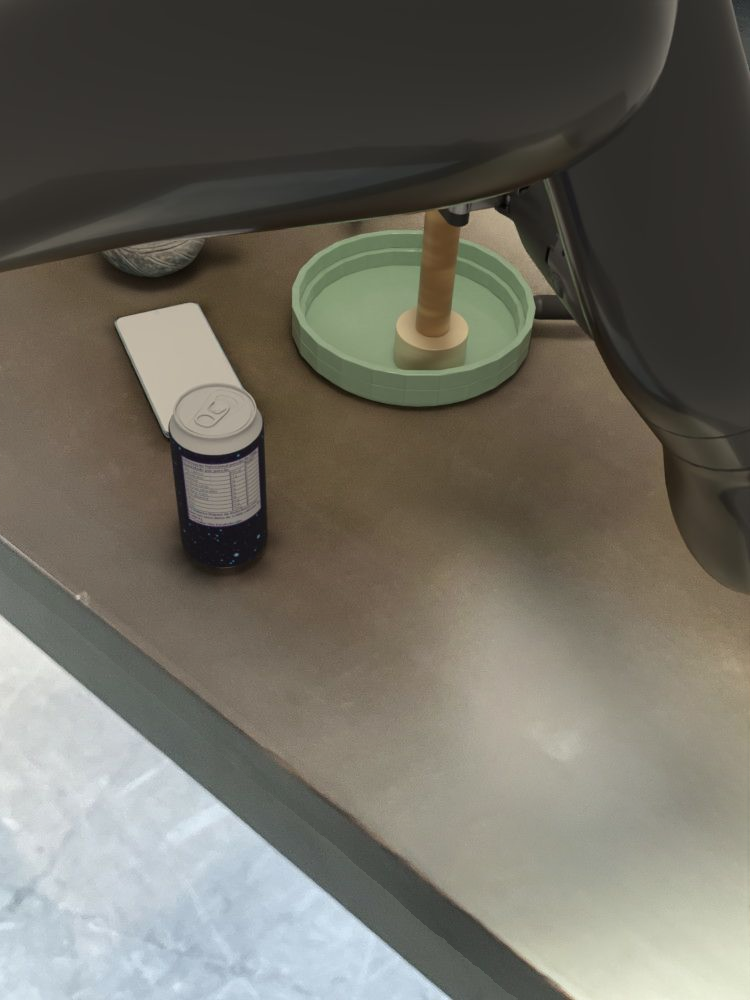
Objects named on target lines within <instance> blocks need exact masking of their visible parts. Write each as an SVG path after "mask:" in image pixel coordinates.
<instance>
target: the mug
mask: <svg viewBox="0 0 750 1000" xmlns="http://www.w3.org/2000/svg"><path fill="white" fill-rule="evenodd" d="M206 239H207V238H202V239H193V240H183V241H174V242H165V243H157V244H149V245H141V246H132V247H126V248H121V249H115V250H110V251H105V252H100V254H101V255H102V256H103V258H104V259H105V260H106V261H108V263H110V264H111V265H112V266H113V267H114V268H116V269H117V270H119V271H121V272H123V273H125V274H130V275H132V276H137V277H144V278H145V277H147V278H161V277H164V276H165V277H166V276H168V275H171V274H173V273H176V272H178V271H180V270H183V269H185V267H188V266H189V265H190V264H192V263H193V261H194V260H195V259H196V257H197V256H198V255H199V253H200V252H201V250H202V248H203V247H204V244H205V242H206Z"/></svg>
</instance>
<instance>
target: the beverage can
mask: <svg viewBox="0 0 750 1000" xmlns="http://www.w3.org/2000/svg"><path fill="white" fill-rule="evenodd" d="M244 389H245V388H244ZM244 389H242V388H240V387H238V386H235V385H231V384H227V383H207V384H202V385H198V386H196V387H193V388H191V389H189V390H187V391H186V392H184V393H183V394H182V395H181V396H180V397H179V398H178V400H177V401H176V403H175V405H174V409H173V414H172V416H171V418H170V421H169V425H168V431H169V438H168V439H169V448H170V456H171V457H170V458H171V464H172V473H173V481H174V490H175V498H176V508H177V516H178V517H177V518H178V524H179V534H180V541H181V542H180V543H181V547H182V548H183V550H184V551H185V553H186V555H188V556H189V557H190V558H191V559H192V560H193V561H195V562H197V563H198V564H201V565H203V566H207V567H211V568H216V569H230V568H234V567H238V566H241V565H244V564H246V563H248V562H250V561H252V560H254V559H255V558H256V557H257V556H258V555H260V553H261V552H262V551H263V550H264V548H265V546H266V544H267V542H268V537H269V533H268V532H269V531H268V506H267V505H268V503H267V502H268V501H267V476H266V475H267V473H266V448H265V447H266V445H265V420H264V418H263V416H262V413H261V411H260V410H259V409H258V407H257V403H256V401H255V399H254V397H253V396H252V395H251V393H249V392H248V391H247V390H246V389H245V390H244Z"/></svg>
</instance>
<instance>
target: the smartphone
mask: <svg viewBox="0 0 750 1000" xmlns="http://www.w3.org/2000/svg"><path fill="white" fill-rule="evenodd" d="M113 321H114V327H115V329H116V331H117V333H118V335H119V339H121V342H122V344H123V346H124V349H125V351H126V353H127V355H128V357H129V360H130V363H131V364H132V366H133V369H134V371H135V373H136V375H137V378H138V380H139V383H140V384H141V386H142V389H143V392H144V393H145V395H146V397H147V400H148V402H149V404H150V406H151V409H152V410H153V414H154V415H155V417H156V419H157V422H158V424H159V426H160V428H161V431H162V433H163V434H164V436H165V437H166V438H168V439H169V431H168V425H169V421H170V418H171V416H172V414H173V409H174V405H175V403H176V401H177V400H178V398H179V397H180V396H181V395H182V394H183V393H184V392H186V391H187V390H189V389H191V388H193V387H196V386H198V385H202V384H207V383H227V384H231V385H235V386H238V387H240V388H242V389H244V390H245V391H246V389H245V387H244V386H243V384H242V382H241V380H240V378H239V377H238V374H237V372H236V370H235V369H234V367H233V365H232V364H231V362H230V360H229V358H228V356H227V354H226V353H225V351H224V349H223V347H222V345H221V343H220V341H219V339H218V338H217V336H216V334H215V332H214V330H213V329H212V327H211V324H210V323H209V321H208V320H207V318H206V315H205V314H204V312H203V310H202V309H201V306H200V304H199V303H197V302H196V301H186V302H182V303H176V304H173V305H168V306H163V307H158V308H153V309H149V310H145V311H144V310H143V311H139V312H136V313H132V314H131V313H130V314H126V315H123V316H117V317H116V318H115V319H114V320H113Z"/></svg>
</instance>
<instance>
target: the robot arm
mask: <svg viewBox="0 0 750 1000" xmlns="http://www.w3.org/2000/svg"><path fill="white" fill-rule="evenodd" d="M488 209H494V210H495V211H496V212H497V213H498V214H500V215H501V216H504V217H505V218H507V219H509V220H510V221H512V222H513V223H514V226H515V229H516V232H517V234H518V237H519V240H520V242H521V245H522V247H523V248H524V250H525V252H526V254H527V255H528V257H529V258H530V260H531V261H532V262H533V264H534V265H535V266H536V268H537V269H538V270H539V272H540V273H541V275H542V276H543V278H544V279H545V280H546V282H547V284H548V285H549V286H550V288H551V289H552V291H553V292H554V293H555V295H557V296H558V297H559V299H560V300H561V302H562V303H563V305H564V306H565V307H566V309H567V310H568V312H569V313H570V315H571V316H572V317H573V319H574V320H573V321H575V323H576V324H577V325H578V327H579V328H580V330H582V331H583V332H584V334H586V336H587V337H588V338H589V339H591V340H592V341H593V342H594V345H595V347H596V349H597V351H598V353H599V355H600V357H601V359H602V361H603V363H604V364H605V367H606V369H607V370H608V372H609V374H610V376H611V378H612V380H613V381H614V382H615V384H616V386H617V387H618V389H619V390H620V392H621V393H622V395H623V396H624V397H625V398H626V400H627V401H628V402H629V403H630V405H631V407H633V409H634V410H635V412H636V413H637V414H638V416H639V417H640V418H641V419H642V420H643V422H644V423H645V425H646V426H647V427H648V429H649V430H650V431H651V432H652V433H653V435H654V436H655V437H656V439H657V440H658V441H659V442H660V444H661V448H662V455H663V457H662V459H663V471H664V481H665V482H664V483H665V488H666V495H667V498H668V503H669V507H670V511H671V514H672V517H673V520H674V523H675V525H676V528H677V531H678V533H679V535H680V537H681V538H682V541H683V543H684V544H685V546H686V548H687V550H688V551H689V553H690V554H691V556H692V557H693V558H694V560H695V561H696V562H697V564H698V565H699V566H700V567H701V569H702V570H703V571H704V572H706V574H707V575H708V576H709V577H711V579H713V580H714V581H715V582H717V583H718V584H720V585H721V586H723V587H725V588H727V589H728V590H731V591H733V592H736V593H739V594H742V595H745V596H750V68H749V64H748V61H747V56H746V52H745V49H744V45H743V42H742V38H741V34H740V30H739V26H738V22H737V17H736V14H735V9H734V5H733V0H0V274H2V273H6V272H11V271H15V270H20V269H24V268H28V267H34V266H39V265H44V264H49V263H55V262H60V261H64V260H69V259H74V258H78V257H79V258H80V257H84V256H88V255H93V254H98V253H101V252H105V251H110V250H115V249H121V248H126V247H132V246H141V245H149V244H157V243H165V242H174V241H183V240H193V239H202V238H206V239H209V238H220V237H227V236H228V237H229V236H237V235H248V234H256V233H257V234H258V233H264V232H274V231H284V230H292V229H293V230H294V229H302V228H312V227H319V226H329V225H331V226H332V225H339V224H347V223H353V222H354V223H355V222H362V221H369V220H377V219H378V220H379V219H386V218H393V217H402V216H409V215H415V214H421V213H425V212H428V211H434V210H438V211H439V213H440V214H441V215H442V216H443V218H444V219H445V220H446V222H447V223H448V224H449V225H451V226H455V227H461V228H462V227H466V226H467V225H468V224H469V222H470V215H471V213H472V212H478V211H482V210H488Z"/></svg>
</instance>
